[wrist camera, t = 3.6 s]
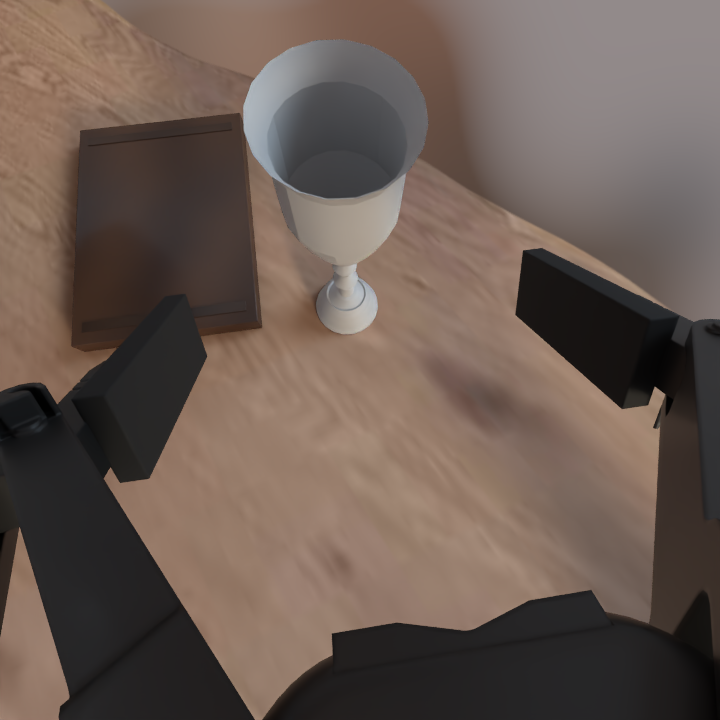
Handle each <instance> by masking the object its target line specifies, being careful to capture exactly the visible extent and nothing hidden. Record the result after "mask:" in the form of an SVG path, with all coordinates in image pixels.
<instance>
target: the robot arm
mask: <svg viewBox="0 0 720 720" xmlns="http://www.w3.org/2000/svg"><path fill="white" fill-rule="evenodd" d="M516 316H517V317H518V318H520V319H521V320H522V321H523V322H524V323H525V324H526V325H528V326H529V327H530V328H531V329H532V330H533V331H534V332H535V333H537V334H538V335H539V336H540V337H541V338H542V339H543V340H544V341H546V342H547V343H548V344H549V345H550V346H551V347H552V348H554V349H555V350H556V351H557V352H558V353H559V354H560V355H561V356H563V357H564V358H565V359H566V360H567V361H568V362H569V363H570V364H572V365H573V366H574V367H575V368H576V369H577V370H578V371H580V372H581V373H582V374H583V375H584V376H585V377H586V378H587V379H589V380H590V381H591V382H592V383H593V384H594V385H595V386H597V387H598V388H599V389H600V390H601V391H602V392H603V393H604V394H606V395H607V396H608V397H609V398H610V399H611V400H612V401H613V402H615V403H616V404H617V405H618V406H619V407H620V408H621V409H625V408H632V407H639V406H646V405H648V404H649V401H650V398H651V395H652V392H653V390H654V387H656V388H658V389H659V390H660V391H662V392H663V393H665V394H666V395H665V398H664V400H663V403H662V405H661V408H660V411H659V413H658V416H657V419H656V421H655V424H654V427H653V428H656V429H658V428H659V427H660V440H659V460H658V481H657V501H656V521H655V541H654V562H653V582H652V602H651V616H650V622H649V624H648V623H645V622H642V621H639V620H636V619H633V618H630V617H626V616H622V615H618V614H613V613H609V612H604V610H603V608H602V607H601V605H600V603H599V602H598V600H597V598H596V597H595V595H594V594H593V592H592V590H589V591H583V592H577V593H571V594H565V595H559V596H553V597H547V598H541V599H535V600H530V601H527V602H526V603H524V604H522V605H520V606H518V607H516V608H514V609H512V610H510V611H508V612H506V613H504V614H503V615H501V616H499V617H497V618H495V619H493V620H491V621H489V622H487V623H485V624H483V625H481V626H480V627H478V628H476V629H473V630H469V631H461V630H453V629H445V628H437V627H428V626H420V625H412V624H403V623H392V624H386V625H380V626H374V627H368V628H362V629H356V630H350V631H345V632H339V633H333V634H332V647H333V655H332V656H330V657H328V658H326V659H324V660H322V661H321V662H319V663H318V664H316V665H315V666H313V667H312V668H310V669H309V670H307V671H306V672H305V673H304V674H302V675H301V676H300V677H299V678H298V679H297V680H296V681H294V682H293V683H292V684H291V685H290V686H289V687H288V688H287V689H286V691H285V692H284V693H283V694H282V695H281V696H280V697H279V698H278V699H277V701H276V702H275V703H274V705H273V706H272V707H271V709H270V710H269V711H268V713H267V714H266V715H265V717H264V718H263V720H720V320H717V319H705V320H699V321H696V322H693V321H691V320H688V319H686V318H684V317H682V316H680V315H678V314H676V313H674V312H672V311H670V310H668V309H666V308H663V307H662V306H660V305H658V304H656V303H653V302H652V301H650V300H648V299H646V298H644V297H642V296H640V295H636V294H634V293H632V292H630V291H628V290H626V289H624V288H622V287H620V286H618V285H616V284H614V283H612V282H610V281H608V280H606V279H604V278H602V277H600V276H598V275H596V274H594V273H592V272H589V271H587V270H585V269H583V268H581V267H579V266H577V265H575V264H573V263H571V262H569V261H567V260H565V259H563V258H561V257H559V256H557V255H555V254H553V253H551V252H549V251H547V250H545V249H543V248H539V249H531V250H524V251H523V256H522V264H521V273H520V281H519V289H518V298H517V306H516ZM206 358H207V354H206V351H205V348H204V345H203V343H202V340H201V337H200V334H199V331H198V328H197V325H196V322H195V319H194V316H193V313H192V311H191V308H190V305H189V302H188V299H187V296H186V294H179V295H171V296H165V297H164V298H163V299H162V300H161V301H160V302H159V303H158V305H157V306H156V307H155V308H154V309H153V310H152V311H151V312H150V313H149V314H148V316H147V317H146V318H145V319H144V320H143V321H142V322H141V323H140V324H139V325H138V326H137V328H136V329H135V330H134V331H133V332H132V333H131V334H130V335H129V336H128V337H127V339H126V340H125V341H124V342H123V343H122V344H121V345H120V346H119V347H118V348H117V349H116V351H115V352H114V353H113V354H112V355H111V356H110V357H109V358H108V359H107V360H106V361H104V362H102V363H101V364H99V365H98V366H96V367H94V368H93V369H91V370H90V371H89V372H88V373H87V374H86V375H85V376H84V377H83V378H82V379H81V380H80V382H79V383H77V384H76V385H75V386H74V388H73V391H70V392H69V393H68V394H67V395H66V396H65V397H64V398H63V399H62V400H61V401H60V402H59V403H58V404H56V402H55V400H54V399H53V397H52V396H51V394H50V392H49V391H48V389H47V388H46V386H45V385H43V384H42V383H27V384H22V385H18V386H15V387H11V388H8V389H6V390H3V391H1V392H0V635H1V629H2V623H3V618H4V612H5V606H6V600H7V595H8V589H9V583H10V577H11V572H12V566H13V560H14V554H15V549H16V543H17V537H18V531H19V527H20V529H21V532H22V536H23V539H24V542H25V546H26V549H27V552H28V556H29V559H30V562H31V566H32V569H33V572H34V576H35V579H36V582H37V586H38V589H39V592H40V596H41V599H42V602H43V606H44V609H45V612H46V616H47V619H48V622H49V626H50V629H51V632H52V636H53V639H54V642H55V646H56V649H57V653H58V656H59V659H60V663H61V666H62V669H63V673H64V676H65V679H66V683H67V686H68V690H69V695H70V697H69V700H67V701H66V702H65V703H64V704H63V705H61V706H60V712H59V720H255V719H254V718H253V716H252V715H251V713H250V711H249V710H248V708H247V707H246V705H245V703H244V702H243V700H242V699H241V697H240V695H239V694H238V692H237V691H236V689H235V687H234V686H233V684H232V683H231V681H230V679H229V678H228V676H227V675H226V673H225V671H224V670H223V668H222V667H221V665H220V664H219V662H218V660H217V659H216V657H215V656H214V654H213V652H212V651H211V649H210V648H209V646H208V644H207V643H206V641H205V640H204V638H203V636H202V635H201V633H200V632H199V630H198V628H197V627H196V625H195V624H194V622H193V620H192V619H191V617H190V616H189V614H188V613H187V611H186V609H185V608H184V606H183V605H182V603H181V602H180V600H179V599H178V597H177V595H176V594H175V592H174V591H173V589H172V587H171V586H170V584H169V583H168V581H167V579H166V578H165V576H164V575H163V573H162V571H161V570H160V568H159V567H158V565H157V563H156V562H155V560H154V559H153V557H152V555H151V554H150V552H149V551H148V549H147V547H146V546H145V544H144V543H143V541H142V540H141V538H140V536H139V535H138V533H137V532H136V530H135V528H134V527H133V525H132V524H131V522H130V520H129V519H128V517H127V516H126V514H125V512H124V511H123V509H122V508H121V506H120V504H119V503H118V501H117V500H116V498H115V496H114V495H113V493H112V492H111V490H110V488H109V487H108V485H107V484H106V482H105V480H104V479H103V478H104V477H105V475H106V474H107V472H108V470H109V469H110V467H111V468H112V470H113V472H114V474H115V475H116V477H117V479H118V480H119V482H120V483H123V482H129V481H136V480H143V479H149V478H150V476H151V474H152V472H153V470H154V467H155V465H156V463H157V461H158V459H159V457H160V455H161V453H162V451H163V449H164V446H165V444H166V442H167V440H168V438H169V436H170V434H171V432H172V430H173V427H174V425H175V423H176V421H177V419H178V417H179V415H180V413H181V411H182V409H183V406H184V404H185V402H186V400H187V398H188V396H189V394H190V392H191V390H192V387H193V385H194V383H195V381H196V379H197V377H198V375H199V373H200V371H201V368H202V366H203V364H204V362H205V360H206Z"/></svg>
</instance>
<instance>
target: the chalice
mask: <svg viewBox="0 0 720 720" xmlns="http://www.w3.org/2000/svg"><path fill="white" fill-rule="evenodd" d="M427 128H428V117H427V110H426V104H425V98H424V96H423V95H422V93H421V91H420V89H419V87H418V85H417V83H416V81H415V79H414V78H413V76H412V75H411V74H410V73H409V72H408V71H407V70H406V69H405V68H404V67H403V66H402V65H400V63H398V61H397V60H395V59H394V58H392V57H391V56H389V55H387V54H385V53H383V52H381V51H380V50H378V49H376V48H374V47H372V46H369V45H364V44H361V43H357V42H352V41H348V40H316V41H313V42H309V43H306V44H303V45H300V46H296V47H293V48H290V49H288V50H287V51H286V52H284V53H283V54H281V55H279V56H278V57H276V58H275V59H273V60H272V61H270V62H269V63H267V65H266V66H265V67H264V68H263V69H262V71H261V72H260V73H259V74H258V76H257V77H256V78H255V79H254V81H253V82H252V84H251V86H250V89H249V92H248V95H247V98H246V100H245V103H244V133H245V135H246V138H247V141H248V143H249V146H250V148H251V151H252V154H253V155H254V157H255V158H256V159H257V160H258V161H259V163H260V164H261V165H262V166H263V167H264V169H265V170H266V171H267V172H268V173H269V175H270V176H271V177H272V179H273V183H274V186H275V189H276V193H277V196H278V199H279V203H280V206H281V210H282V213H283V215H284V218H285V220H286V223H287V226H288V228H289V229H290V230H291V231H292V233H293V234H294V235H295V236H296V238H297V239H298V240H299V241H300V242H301V243H302V244H303V245H304V246H305V247H306V248H307V249H308V250H309V251H310V252H311V253H313V254H314V255H316V256H317V257H319V258H321V259H322V260H324V261H326V262H329V263H331V264H333V269H334V271H335V272H334V274H333V279H331V280H330V281H329V282H328V283H327V284H326V285H325V286H324V287H323V288H322V290H321V291H320V292H319V294H318V298H317V301H316V309H317V314H318V316H319V319H320V320H321V322H322V323H323V324H324V325H325V326H326V327H327V328H329V329H330V330H332V331H333V332H336V333H340V334H355V333H357V332H360V331H363V330H364V329H365V328H367V327H368V326H369V325H370V324H371V323H372V321H373V320H374V318H375V317H376V313H377V309H378V304H377V297H376V295H375V293H374V291H373V289H372V288H371V287H370V286H369V285H368V284H367V283H366V282H365V281H363V280H362V279H360V278H359V277H358V275H357V273H356V271H355V270H356V267H357V263H358V262H360V261H362V260H364V259H366V258H367V257H368V256H370V255H371V254H372V253H373V252H375V251H376V250H377V249H378V248H379V247H380V245H381V244H382V243H383V242H384V241H385V240H386V239H387V238H388V236H389V234H390V233H391V231H392V230H393V228H394V226H395V225H396V223H397V219H398V215H399V210H400V205H401V200H402V194H403V188H404V182H405V176H406V173H407V172H408V171H409V170H410V168H411V167H412V165H413V164H414V162H415V160H416V159H417V157H418V156H419V154H420V152H421V151H422V149H423V147H424V143H425V138H426V133H427Z"/></svg>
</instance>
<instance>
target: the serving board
mask: <svg viewBox="0 0 720 720" xmlns="http://www.w3.org/2000/svg"><path fill="white" fill-rule="evenodd" d="M179 294H186V296H187V299H188V302H189V305H190V308H191V311H192V313H193V316H194V319H195V322H196V325H197V328H198V331H199V334H200V336H204V335H212V334H219V333H226V332H234V331H241V330H249V329H256V328H262V320H261V309H260V297H259V286H258V275H257V264H256V252H255V241H254V230H253V218H252V207H251V196H250V185H249V173H248V162H247V151H246V139H245V133H244V124H243V121H242V118H241V115H240V113H236V114H227V115H218V116H209V117H200V118H191V119H182V120H173V121H164V122H154V123H145V124H136V125H127V126H118V127H109V128H100V129H91V130H82V131H80V150H79V174H78V199H77V223H76V247H75V272H74V296H73V320H72V345H71V346H72V347H74V348H77V349H79V350H82V351H84V352H86V351H93V350H101V349H108V348H115V347H119V346H120V345H121V344H122V343H123V342H124V341H125V340H126V339H127V337H128V336H129V335H130V334H131V333H132V332H133V331H134V330H135V329H136V328H137V326H138V325H139V324H140V323H141V322H142V321H143V320H144V319H145V318H146V317H147V316H148V314H149V313H150V312H151V311H152V310H153V309H154V308H155V307H156V306H157V305H158V303H159V302H160V301H161V300H162V299H163V298H164V297H165V296H171V295H179Z"/></svg>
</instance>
